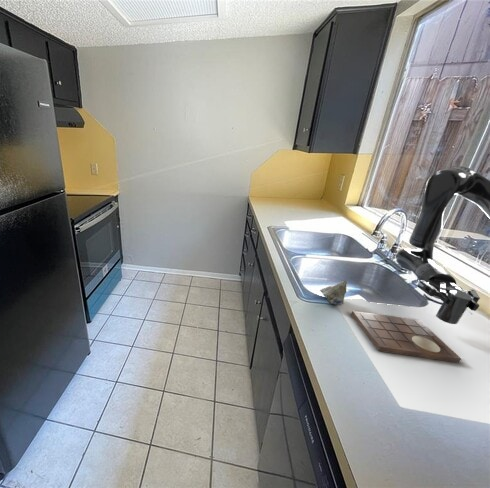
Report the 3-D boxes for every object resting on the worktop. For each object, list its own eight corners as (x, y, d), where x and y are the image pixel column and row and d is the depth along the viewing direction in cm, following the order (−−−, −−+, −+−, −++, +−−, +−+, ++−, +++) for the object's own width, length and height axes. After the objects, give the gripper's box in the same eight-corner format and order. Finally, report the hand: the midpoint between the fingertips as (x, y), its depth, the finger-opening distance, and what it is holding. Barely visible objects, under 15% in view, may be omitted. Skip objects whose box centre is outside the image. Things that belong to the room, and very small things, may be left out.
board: (416, 323, 84) (419, 319, 84) (458, 362, 70) (461, 358, 69) (350, 314, 87) (352, 310, 86) (378, 350, 73) (380, 346, 72)
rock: (319, 286, 100) (346, 276, 93) (328, 299, 99) (356, 290, 93) (314, 300, 91) (344, 290, 85) (325, 314, 91) (355, 305, 84)
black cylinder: (448, 315, 82) (463, 291, 78) (462, 325, 77) (477, 300, 74) (431, 312, 82) (445, 289, 79) (443, 323, 78) (458, 298, 74)
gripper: (412, 263, 90) (437, 288, 76) (466, 273, 85) (504, 301, 71) (403, 282, 93) (426, 309, 79) (455, 291, 88) (489, 322, 74)
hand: (463, 305), depth 75 cm, fingers closed on black cylinder, 5 cm apart
